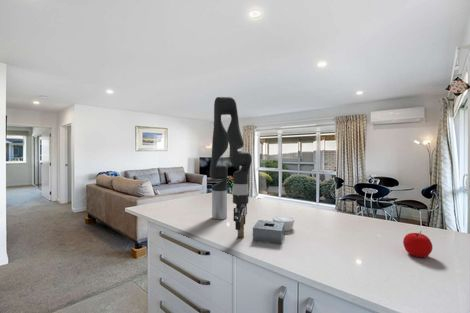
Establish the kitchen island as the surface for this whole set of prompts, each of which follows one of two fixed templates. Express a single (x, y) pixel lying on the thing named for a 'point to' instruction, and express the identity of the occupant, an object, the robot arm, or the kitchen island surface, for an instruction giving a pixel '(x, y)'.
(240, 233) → the walnut peg
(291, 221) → the ramekin
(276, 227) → the hole block
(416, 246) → the fruit
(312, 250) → the kitchen island surface
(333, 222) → the kitchen island surface
